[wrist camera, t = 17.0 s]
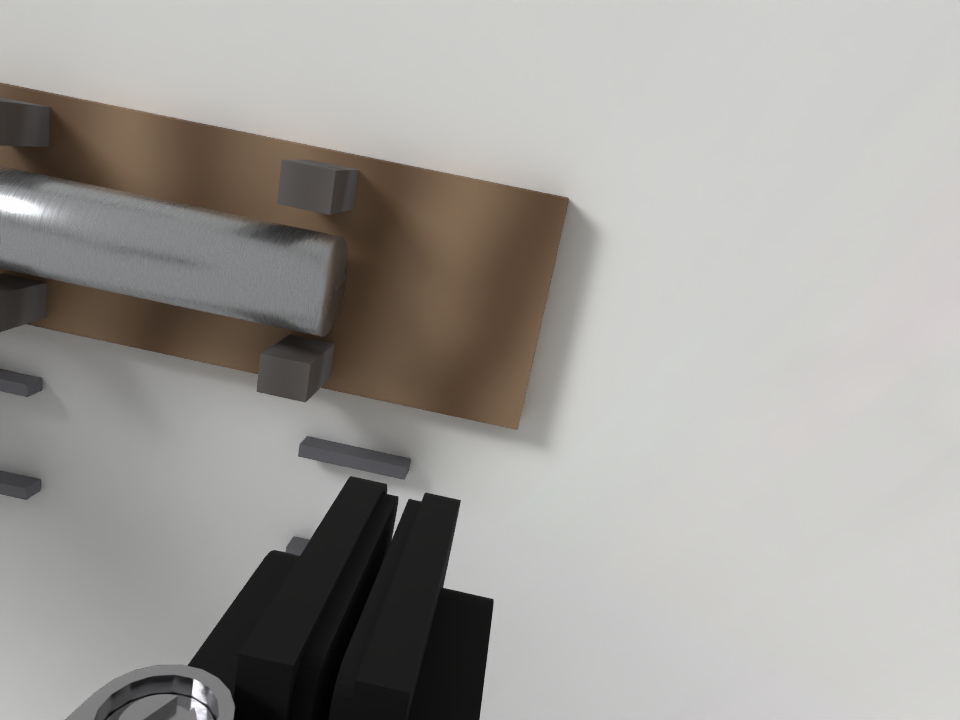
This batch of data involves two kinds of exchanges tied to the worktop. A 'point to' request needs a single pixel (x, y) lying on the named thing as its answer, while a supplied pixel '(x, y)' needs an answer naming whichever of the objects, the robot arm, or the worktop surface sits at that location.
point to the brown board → (319, 207)
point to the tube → (171, 252)
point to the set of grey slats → (307, 449)
